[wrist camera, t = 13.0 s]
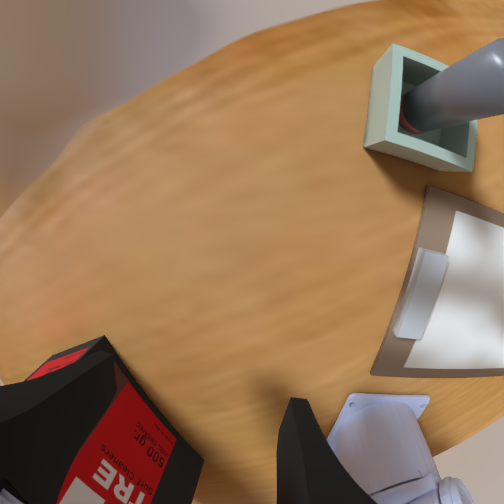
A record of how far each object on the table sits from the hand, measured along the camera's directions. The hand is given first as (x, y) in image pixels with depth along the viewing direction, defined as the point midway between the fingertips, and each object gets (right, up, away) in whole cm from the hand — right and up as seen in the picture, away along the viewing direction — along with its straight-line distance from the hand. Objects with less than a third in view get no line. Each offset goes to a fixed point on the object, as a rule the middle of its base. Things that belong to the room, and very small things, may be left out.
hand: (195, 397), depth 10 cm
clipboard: (+21, +2, +7) cm, 22 cm away
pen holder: (+12, +14, +5) cm, 19 cm away
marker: (+12, +14, +4) cm, 19 cm away
